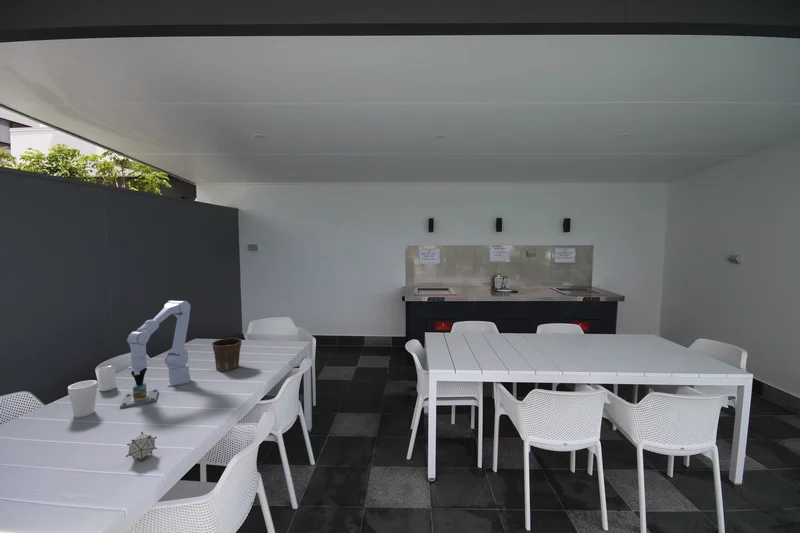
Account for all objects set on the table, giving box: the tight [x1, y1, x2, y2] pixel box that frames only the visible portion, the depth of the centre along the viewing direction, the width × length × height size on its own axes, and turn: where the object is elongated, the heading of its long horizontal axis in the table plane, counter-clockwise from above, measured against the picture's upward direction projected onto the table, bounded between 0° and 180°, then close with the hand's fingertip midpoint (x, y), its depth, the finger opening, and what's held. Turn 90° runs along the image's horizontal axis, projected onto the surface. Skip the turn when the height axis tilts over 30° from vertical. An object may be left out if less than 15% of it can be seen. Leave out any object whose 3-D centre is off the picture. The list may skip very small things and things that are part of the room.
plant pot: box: [211, 337, 243, 372], centre depth 203 cm, size 16×16×16 cm
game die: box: [125, 431, 158, 463], centre depth 116 cm, size 9×8×10 cm
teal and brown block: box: [132, 381, 147, 400], centre depth 160 cm, size 4×4×6 cm
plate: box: [119, 388, 159, 409], centre depth 160 cm, size 13×13×2 cm
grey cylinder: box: [98, 363, 117, 392], centre depth 172 cm, size 6×6×12 cm
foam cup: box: [67, 379, 99, 418], centre depth 146 cm, size 10×9×13 cm
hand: (139, 384), depth 160 cm, fingers closed, pressing on teal and brown block
